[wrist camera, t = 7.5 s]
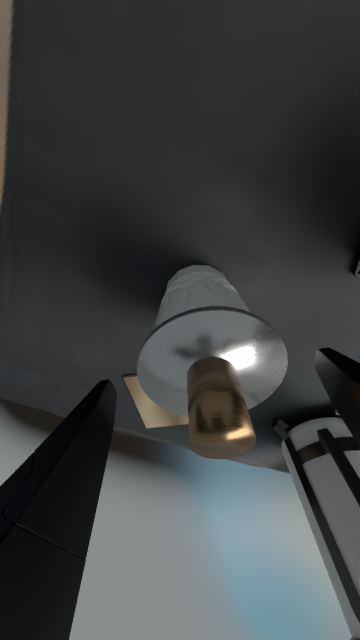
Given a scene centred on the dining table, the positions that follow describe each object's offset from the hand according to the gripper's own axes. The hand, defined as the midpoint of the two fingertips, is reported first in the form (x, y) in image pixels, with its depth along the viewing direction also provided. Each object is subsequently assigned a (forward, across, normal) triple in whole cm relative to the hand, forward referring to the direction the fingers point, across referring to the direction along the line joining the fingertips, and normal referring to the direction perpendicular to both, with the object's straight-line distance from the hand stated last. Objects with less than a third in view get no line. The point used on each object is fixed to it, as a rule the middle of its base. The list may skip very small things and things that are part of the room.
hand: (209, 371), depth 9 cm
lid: (+3, 0, +3) cm, 4 cm away
